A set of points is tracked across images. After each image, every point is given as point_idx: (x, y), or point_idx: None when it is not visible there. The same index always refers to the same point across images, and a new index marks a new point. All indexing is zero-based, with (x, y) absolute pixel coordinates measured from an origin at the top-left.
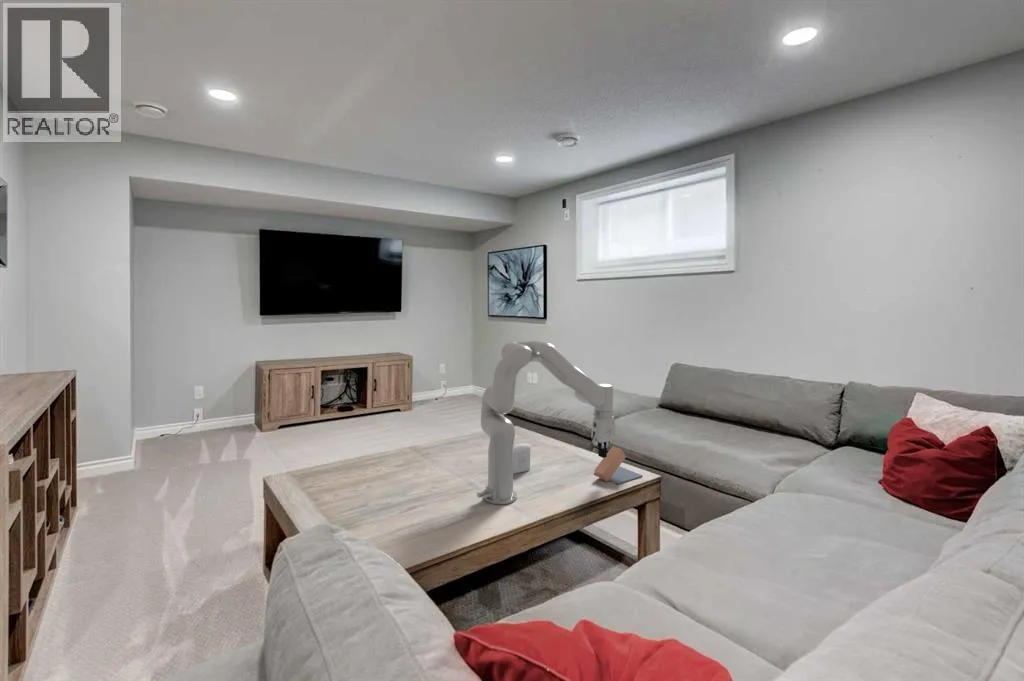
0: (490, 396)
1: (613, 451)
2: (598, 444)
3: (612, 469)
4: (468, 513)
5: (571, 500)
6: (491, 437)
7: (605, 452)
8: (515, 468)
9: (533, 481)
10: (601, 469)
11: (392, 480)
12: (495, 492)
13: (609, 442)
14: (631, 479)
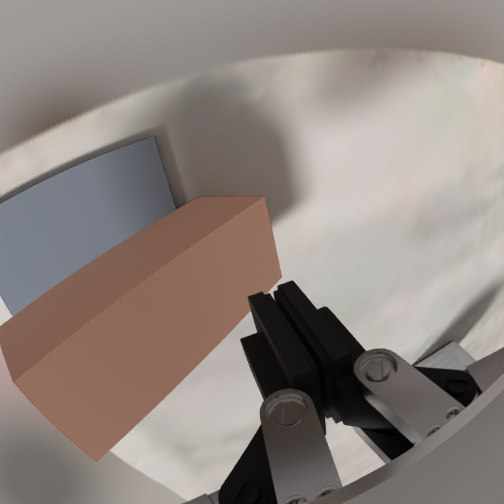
0: None
1: (104, 396)
2: (471, 374)
3: (155, 237)
4: None
5: (452, 88)
6: None
7: (286, 328)
8: (459, 351)
9: (453, 286)
10: (253, 249)
11: None
12: None
13: (221, 488)
14: (37, 184)
